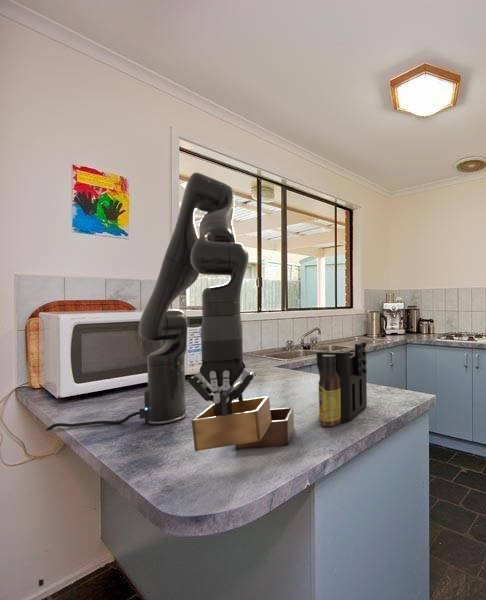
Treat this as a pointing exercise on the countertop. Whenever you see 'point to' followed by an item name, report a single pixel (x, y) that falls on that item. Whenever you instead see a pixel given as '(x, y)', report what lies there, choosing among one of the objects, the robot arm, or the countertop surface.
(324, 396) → the sauce bottle
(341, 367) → the black machined bracket
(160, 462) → the countertop surface
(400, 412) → the countertop surface
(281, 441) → the bottom basket
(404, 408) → the countertop surface
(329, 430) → the countertop surface
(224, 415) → the box
